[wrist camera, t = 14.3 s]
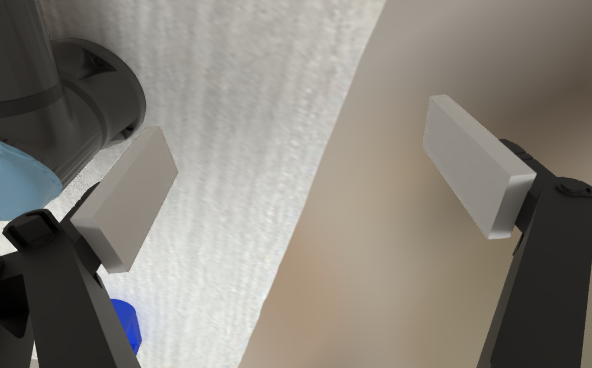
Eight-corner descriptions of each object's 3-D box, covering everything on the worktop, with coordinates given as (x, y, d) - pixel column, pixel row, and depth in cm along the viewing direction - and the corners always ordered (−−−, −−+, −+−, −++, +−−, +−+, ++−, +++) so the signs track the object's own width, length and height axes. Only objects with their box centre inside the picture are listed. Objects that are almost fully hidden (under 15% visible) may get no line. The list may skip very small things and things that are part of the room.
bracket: (91, 298, 76) (74, 328, 70) (130, 297, 76) (116, 328, 70) (116, 339, 87) (103, 368, 81) (149, 339, 88) (139, 368, 82)
